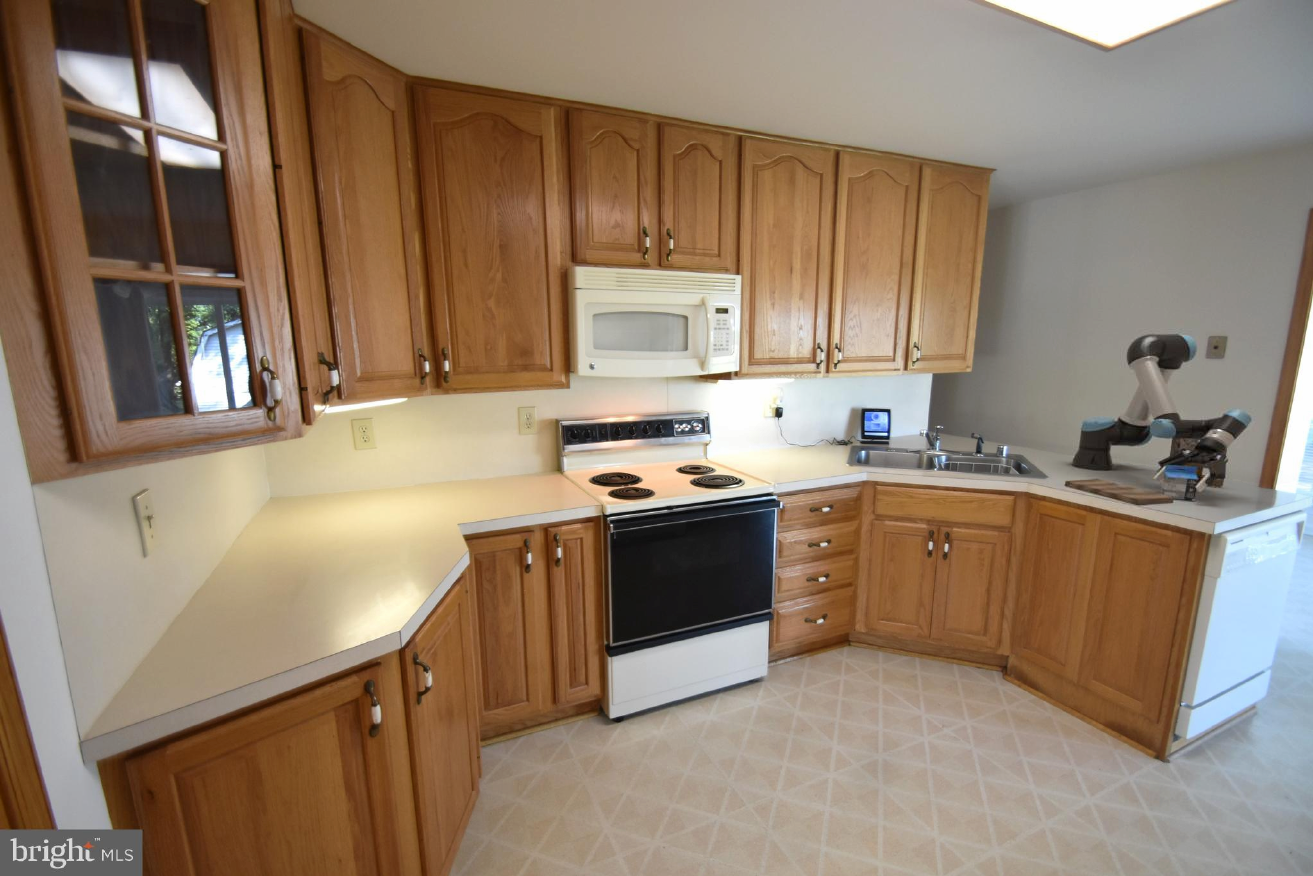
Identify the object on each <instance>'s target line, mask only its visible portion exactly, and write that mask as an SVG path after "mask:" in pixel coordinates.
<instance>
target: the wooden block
mask: <svg viewBox="0 0 1313 876" xmlns="http://www.w3.org/2000/svg"><path fill="white" fill-rule="evenodd" d="M1191 450H1193V449H1191ZM1227 451H1228V448H1227V449H1226V450H1225V451H1224V452H1223V453H1222V455H1223V454H1225V455H1226V456H1227ZM1189 460H1191V459H1190V457H1189ZM1212 464H1213V467H1214V469H1215V472H1216V473H1218V464H1219V460H1218V459H1217V460H1215V461H1212ZM1188 467H1197V469H1196V475H1197V477H1198V483H1199V482H1200V481H1201V480H1202V479H1203V478H1204V477H1205V476H1206V475H1207V474H1206V475H1205V474H1203V472H1204V469H1208V466H1207V464H1204V465H1203V464H1200V463H1188ZM1208 470H1209V469H1208ZM1209 474H1210V473H1209ZM1210 475H1211V474H1210ZM1224 481H1225V479H1221V478H1218V479H1215V480H1214V482H1213V483H1212V484H1210V485H1207V486H1206V487H1211V486H1215V487H1214V488H1216V487H1218V488H1222V487H1221V486H1224Z"/></svg>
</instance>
